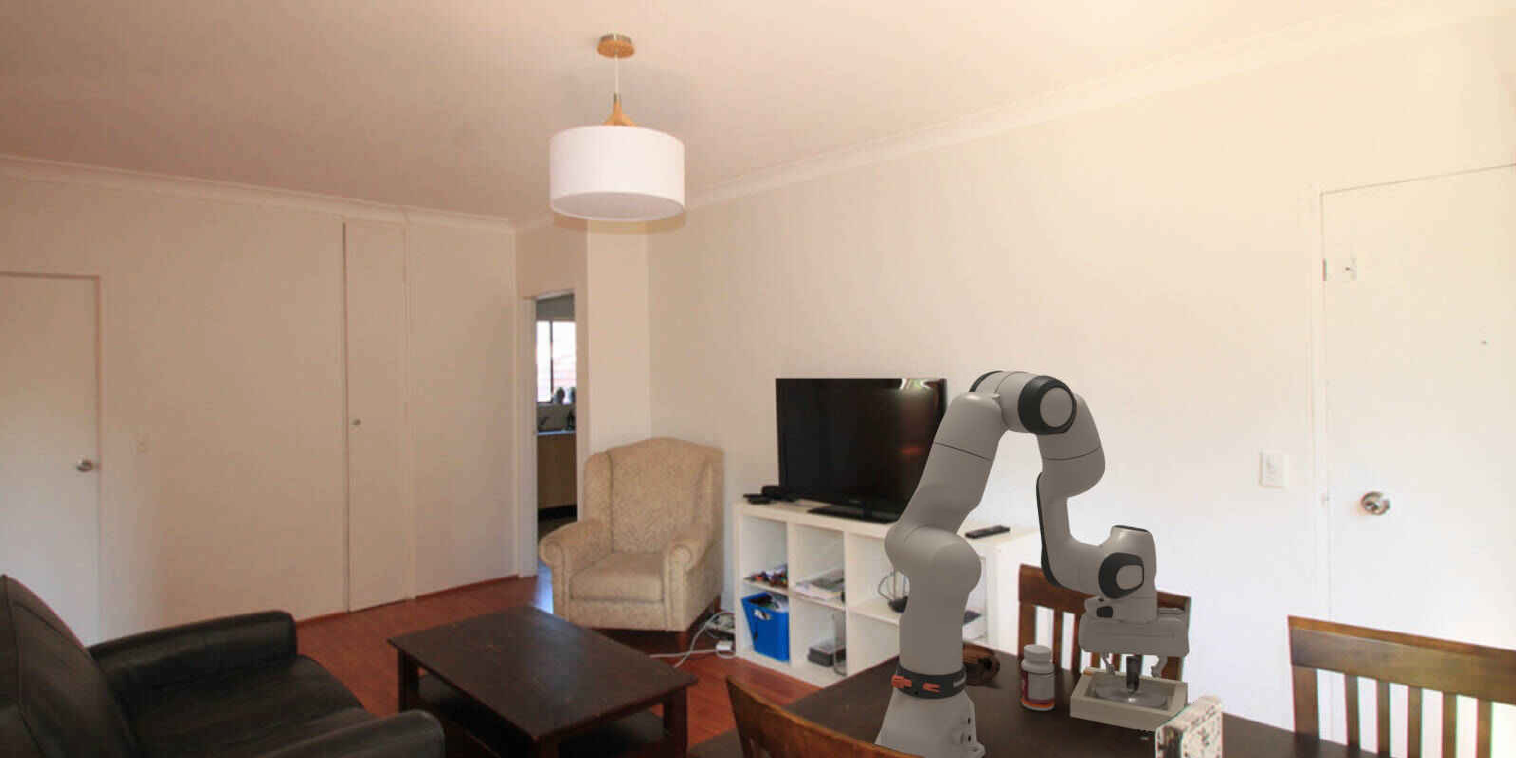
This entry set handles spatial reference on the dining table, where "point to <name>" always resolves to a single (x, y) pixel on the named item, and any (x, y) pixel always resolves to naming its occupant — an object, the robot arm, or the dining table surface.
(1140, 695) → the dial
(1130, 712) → the tray
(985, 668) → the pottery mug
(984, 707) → the dining table surface
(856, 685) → the dining table surface
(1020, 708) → the dining table surface
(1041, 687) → the pill bottle
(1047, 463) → the robot arm
